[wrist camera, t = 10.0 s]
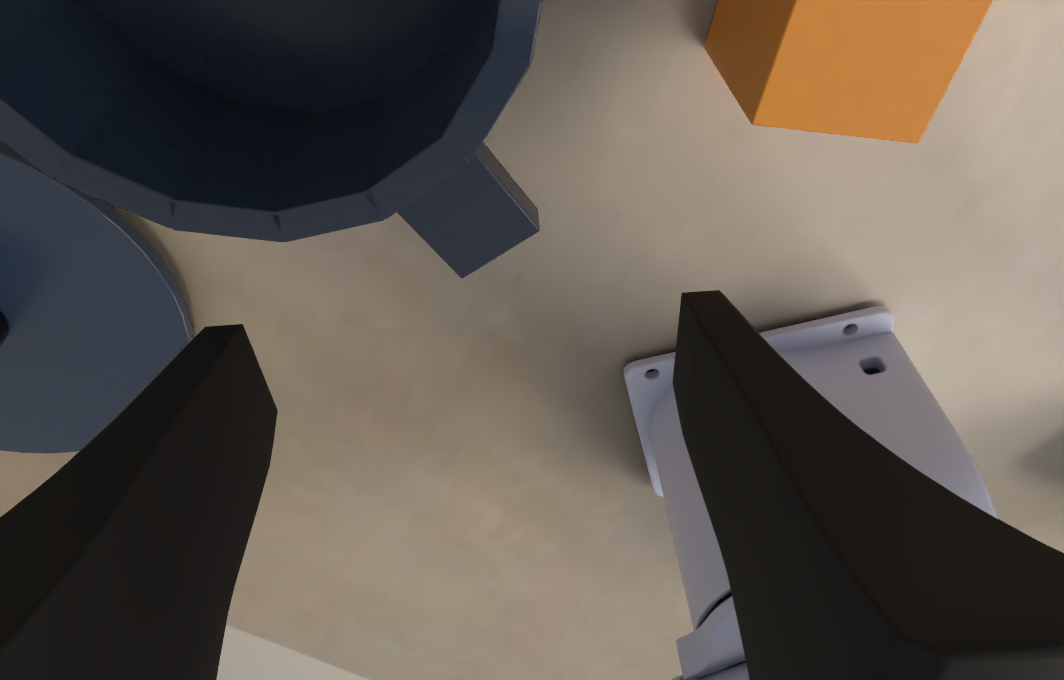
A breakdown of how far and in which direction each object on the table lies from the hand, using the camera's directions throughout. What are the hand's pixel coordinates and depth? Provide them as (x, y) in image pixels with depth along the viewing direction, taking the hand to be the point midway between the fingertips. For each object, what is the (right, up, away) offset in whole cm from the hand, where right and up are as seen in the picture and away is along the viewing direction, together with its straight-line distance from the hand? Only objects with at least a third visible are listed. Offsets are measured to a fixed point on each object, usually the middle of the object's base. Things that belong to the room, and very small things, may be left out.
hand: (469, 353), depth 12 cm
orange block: (+8, +10, +6) cm, 14 cm away
